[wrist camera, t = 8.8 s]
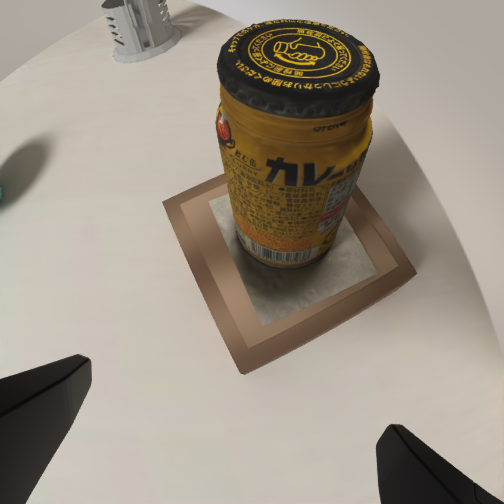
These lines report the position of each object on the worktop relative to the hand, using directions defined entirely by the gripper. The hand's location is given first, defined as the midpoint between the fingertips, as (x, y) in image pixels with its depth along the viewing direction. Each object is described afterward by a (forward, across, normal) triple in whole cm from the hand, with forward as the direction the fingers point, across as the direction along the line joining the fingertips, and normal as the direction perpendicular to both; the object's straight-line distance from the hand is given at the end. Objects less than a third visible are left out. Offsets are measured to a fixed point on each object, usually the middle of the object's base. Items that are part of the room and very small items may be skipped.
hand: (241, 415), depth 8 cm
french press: (+33, +20, -20) cm, 44 cm away
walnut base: (+15, -2, -1) cm, 15 cm away
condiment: (+12, -2, -3) cm, 13 cm away
